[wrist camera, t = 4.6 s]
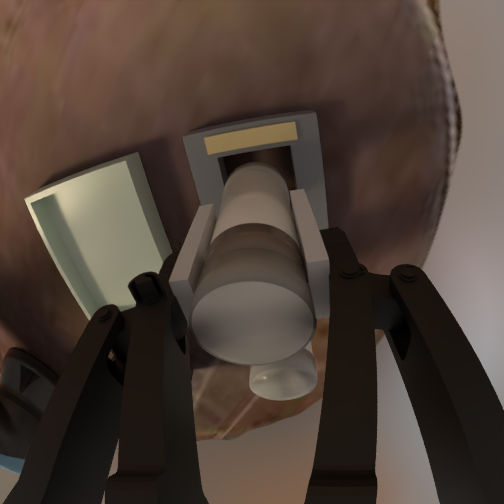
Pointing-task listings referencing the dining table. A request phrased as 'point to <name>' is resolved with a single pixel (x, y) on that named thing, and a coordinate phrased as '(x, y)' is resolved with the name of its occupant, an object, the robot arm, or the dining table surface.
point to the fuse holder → (257, 138)
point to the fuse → (285, 377)
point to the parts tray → (101, 231)
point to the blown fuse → (253, 275)
